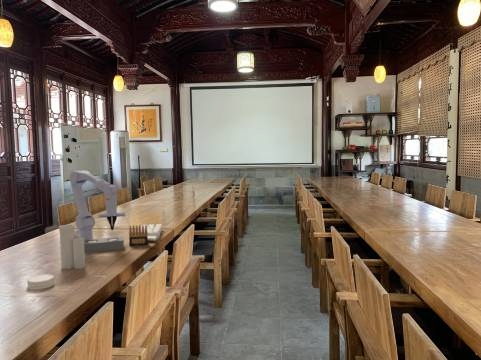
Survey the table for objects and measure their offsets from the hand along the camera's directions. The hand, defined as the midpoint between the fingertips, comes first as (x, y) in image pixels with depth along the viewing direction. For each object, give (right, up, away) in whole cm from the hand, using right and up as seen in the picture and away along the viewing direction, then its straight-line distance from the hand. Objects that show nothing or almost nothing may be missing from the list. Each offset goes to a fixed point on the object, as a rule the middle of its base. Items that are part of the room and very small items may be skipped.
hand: (112, 229), depth 218 cm
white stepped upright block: (-7, -14, -35) cm, 38 cm away
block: (-4, -11, -4) cm, 12 cm away
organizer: (+15, -9, +26) cm, 31 cm away
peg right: (+1, -10, -2) cm, 10 cm away
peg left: (-9, -11, -5) cm, 15 cm away
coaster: (-9, -16, -60) cm, 63 cm away
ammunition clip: (+14, -10, +5) cm, 18 cm away
